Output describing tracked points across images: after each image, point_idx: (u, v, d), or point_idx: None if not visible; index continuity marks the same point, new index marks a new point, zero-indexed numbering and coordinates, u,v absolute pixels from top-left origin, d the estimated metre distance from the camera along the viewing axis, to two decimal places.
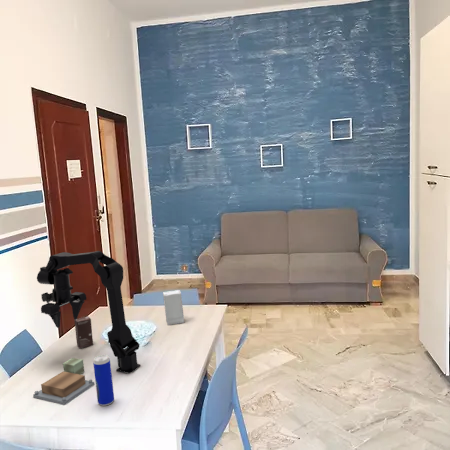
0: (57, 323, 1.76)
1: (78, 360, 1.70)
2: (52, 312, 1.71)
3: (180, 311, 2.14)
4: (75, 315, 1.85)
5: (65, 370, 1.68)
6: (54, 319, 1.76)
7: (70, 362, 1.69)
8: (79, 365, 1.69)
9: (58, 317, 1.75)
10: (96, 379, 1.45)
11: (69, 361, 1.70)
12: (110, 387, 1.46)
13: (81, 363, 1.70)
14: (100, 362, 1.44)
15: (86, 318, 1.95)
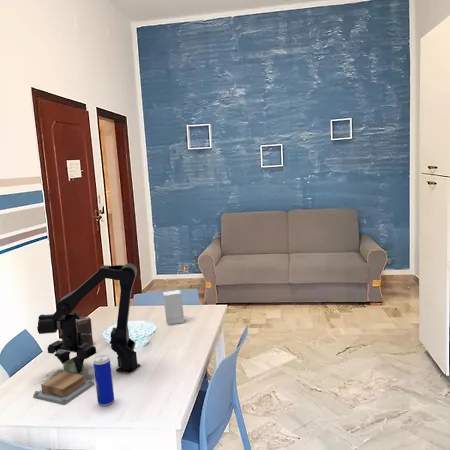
0: None
1: None
2: None
3: (180, 311, 2.14)
4: None
5: (65, 370, 1.68)
6: None
7: (70, 362, 1.69)
8: None
9: (60, 360, 1.69)
10: (96, 379, 1.45)
11: (69, 361, 1.70)
12: (110, 387, 1.46)
13: None
14: (100, 362, 1.44)
15: (86, 318, 1.95)
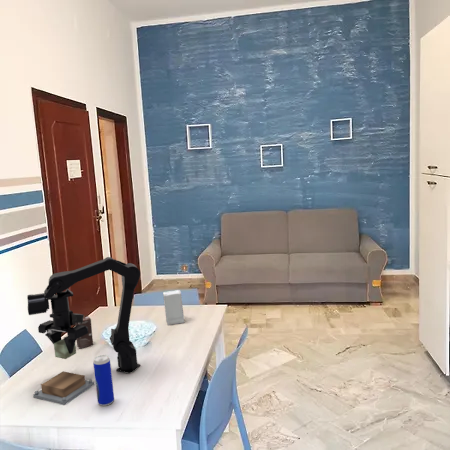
0: None
1: None
2: (38, 330, 1.63)
3: (180, 311, 2.14)
4: None
5: (56, 350, 1.61)
6: None
7: (61, 342, 1.61)
8: None
9: (51, 340, 1.62)
10: (96, 379, 1.45)
11: (60, 341, 1.62)
12: (110, 387, 1.46)
13: None
14: (100, 362, 1.44)
15: (86, 318, 1.95)
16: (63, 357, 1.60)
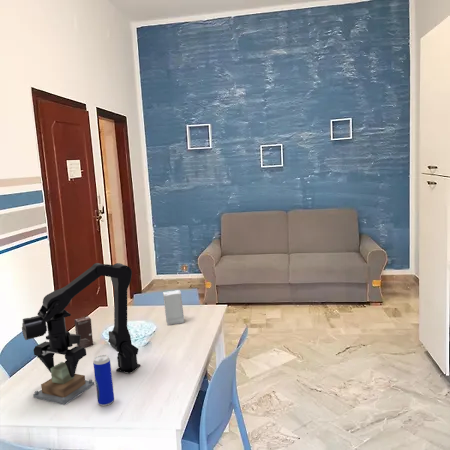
0: None
1: None
2: (34, 353, 1.57)
3: (180, 311, 2.14)
4: None
5: (53, 375, 1.55)
6: None
7: (58, 367, 1.56)
8: None
9: (43, 362, 1.57)
10: (96, 379, 1.45)
11: (57, 366, 1.57)
12: (110, 387, 1.46)
13: None
14: (100, 362, 1.44)
15: (86, 318, 1.95)
16: (60, 382, 1.54)
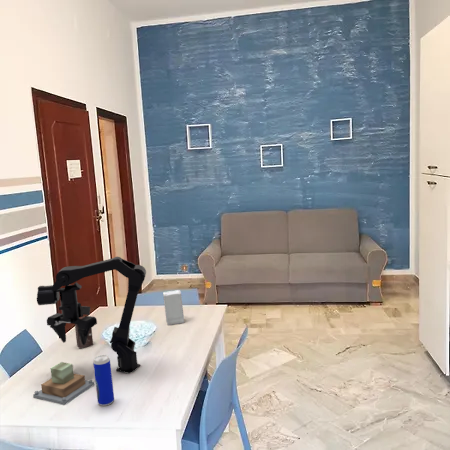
0: None
1: (67, 364, 1.57)
2: (47, 323, 1.68)
3: (180, 311, 2.14)
4: None
5: (53, 375, 1.55)
6: None
7: (58, 367, 1.56)
8: (68, 370, 1.56)
9: (55, 331, 1.68)
10: (96, 379, 1.45)
11: (57, 366, 1.57)
12: (110, 387, 1.46)
13: (70, 368, 1.57)
14: (100, 362, 1.44)
15: None
16: (60, 382, 1.54)
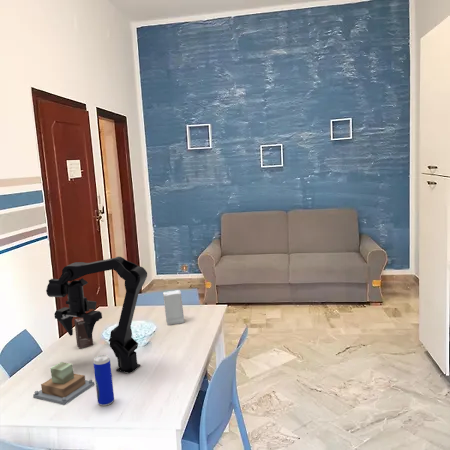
0: None
1: (67, 364, 1.57)
2: None
3: (180, 311, 2.14)
4: None
5: (53, 375, 1.55)
6: None
7: (58, 367, 1.56)
8: (68, 370, 1.56)
9: (63, 325, 1.74)
10: (96, 379, 1.45)
11: (57, 366, 1.57)
12: (110, 387, 1.46)
13: (70, 368, 1.57)
14: (100, 362, 1.44)
15: None
16: (60, 382, 1.54)
